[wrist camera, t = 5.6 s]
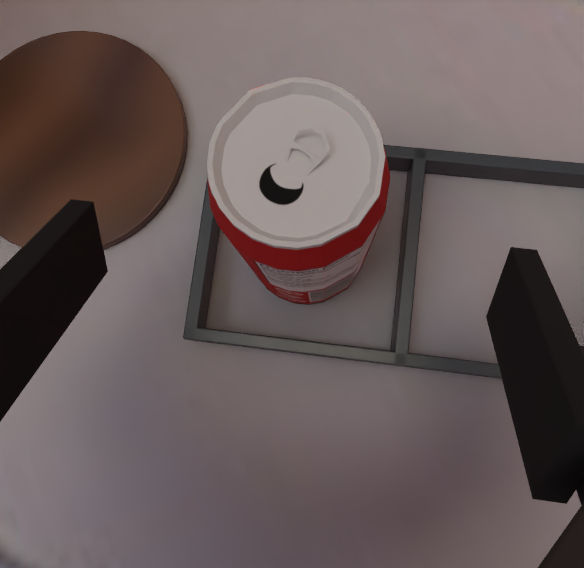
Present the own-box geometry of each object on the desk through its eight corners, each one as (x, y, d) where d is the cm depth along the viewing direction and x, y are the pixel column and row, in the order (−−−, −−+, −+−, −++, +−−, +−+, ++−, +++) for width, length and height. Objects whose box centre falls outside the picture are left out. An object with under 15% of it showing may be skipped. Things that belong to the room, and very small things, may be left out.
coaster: (-80, 194, 28) (-88, 190, 27) (36, 4, 29) (30, -4, 28) (115, 296, 26) (110, 294, 26) (227, 91, 27) (226, 86, 27)
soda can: (295, 174, 26) (274, 24, 15) (385, 236, 26) (439, 131, 14) (230, 262, 26) (152, 181, 14) (319, 327, 25) (317, 299, 13)
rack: (191, 340, 26) (182, 338, 24) (220, 141, 27) (214, 128, 25) (612, 392, 24) (632, 394, 23) (620, 180, 26) (640, 168, 24)
